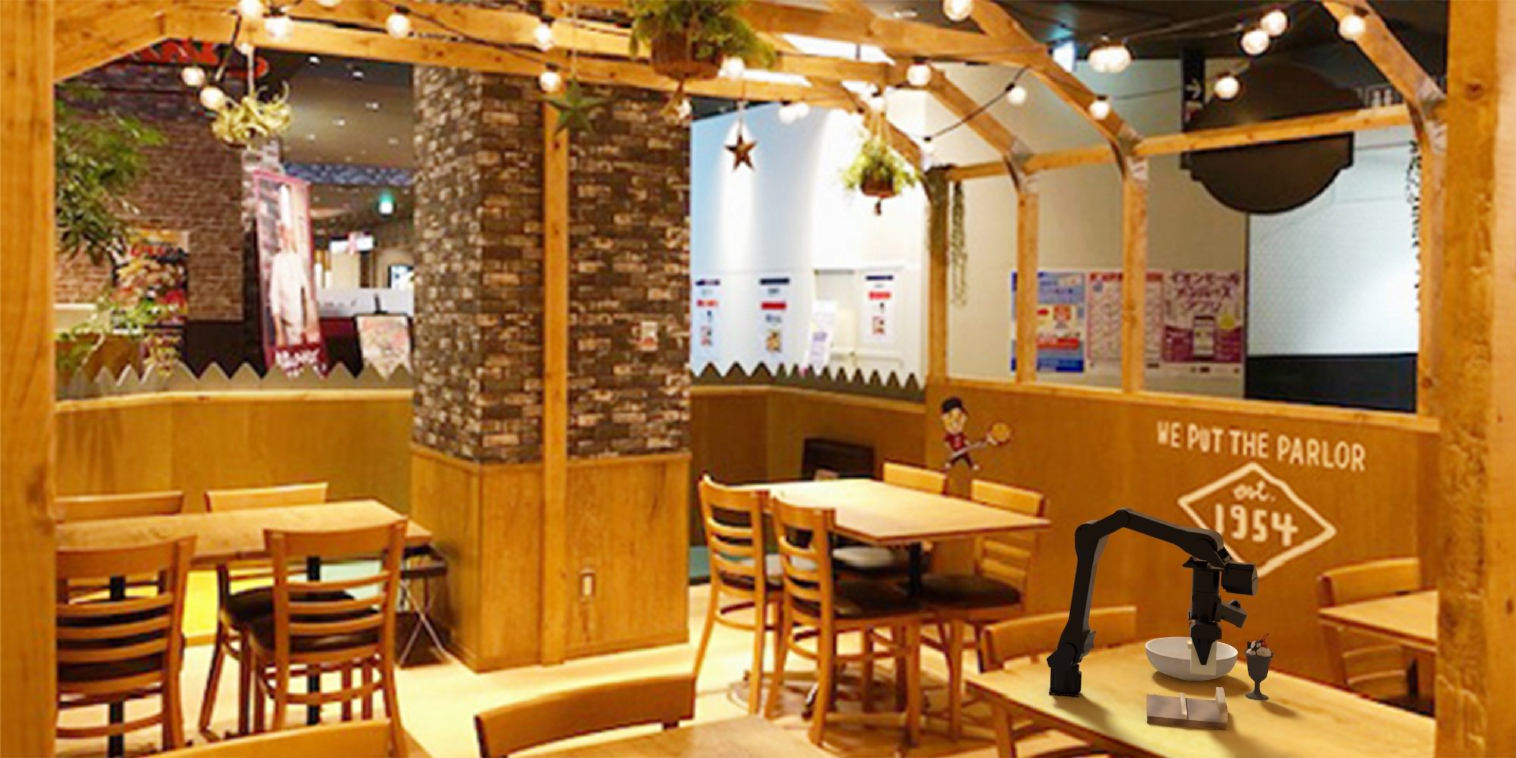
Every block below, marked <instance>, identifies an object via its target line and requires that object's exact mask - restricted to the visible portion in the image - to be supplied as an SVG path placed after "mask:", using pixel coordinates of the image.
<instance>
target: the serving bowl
mask: <svg viewBox="0 0 1516 758" xmlns="http://www.w3.org/2000/svg"><path fill="white" fill-rule="evenodd" d="M1187 640H1188V641H1191V637H1190V636H1189V637H1188V636H1187V637H1186V636H1170V637H1169V636H1168V637H1159V638H1158V637H1157V638H1154V639H1151V640H1149V641H1147V642H1146V643H1145V645H1144V647H1145V654H1146V657H1147V660H1148V662H1149V663H1150V664H1151V666H1153V668H1154V669H1156V670H1157V671H1158V672H1160V673H1162V674H1163V675H1166V676H1169V677H1172V678H1175V679H1178V680H1181V681H1187V680H1188V682H1205V681H1208V680H1214V679H1218V678H1221V677H1224V676H1226V675H1227V674H1229V673H1230V672H1231V671H1232V670H1233V668H1234V667H1235V665H1236V664H1237V661H1238V656H1239V652H1238V650H1237V649H1236V648H1235V647H1234V646H1231V645H1230V644H1227V643H1223V642H1220V641H1217V651H1216V675H1207V674H1195V673H1191V670H1190V657H1191V649H1188V647H1187Z"/></svg>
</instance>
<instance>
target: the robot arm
mask: <svg viewBox="0 0 1516 758" xmlns="http://www.w3.org/2000/svg"><path fill="white" fill-rule="evenodd" d="M1122 528H1125V529H1127V530H1131V531H1133V532H1137V533H1139V534H1143V535H1146V536H1149V537H1152V538H1154V539H1157V540H1160V541H1163V542H1166V543H1170V544H1172V545H1175V546H1176V547H1177V548H1179V549H1180V550H1182V551H1183V552H1184V553H1186V554H1188V555H1189V556H1190V557H1189V558H1188V559H1187V560H1186V561H1185V562H1183V563H1182V565H1181V566H1182V567H1183V568H1185V569H1186V568H1189V569H1192V571H1191V590H1190V599H1191V600H1190V607H1189V608H1188V609H1187V610H1188V611H1187V620H1188V621H1190V622H1188V627H1189V637H1191V639H1192V642H1193V644H1194V647H1195V650H1196V652H1197V655H1198V658H1199V661H1200V664H1201V665H1206V664H1207V661H1208V657H1209V653H1210V650H1211V646H1212V643H1213V642H1215V641H1216V640H1217V641H1218V640H1222V637H1223V635H1222V634H1223V629H1222V626H1221V625H1220V624H1219V623H1221V622H1222V620H1223V622H1224V621H1225V622H1227V623H1228V624H1232V625H1233V626H1235V627H1236V628H1239V629H1242V628H1243V626H1244V624H1245V622H1246V619H1247V618H1248V612H1247V611H1246V610H1245V609H1244V608H1241V602H1240V601H1239V600H1237V599H1235V598H1233V599H1231V600H1230V601H1229V602H1228V601H1226V602H1225V601H1223V600H1222V595H1221V594H1220V593H1221V592H1220V589H1221V588H1222V590H1225V593H1227V594H1235V595H1242V596H1243V595H1244V596H1251V597H1256V595H1257V592H1258V590H1259V579H1260V578H1259V576H1258V575H1259V574H1258V570H1257V563H1255V562H1240V561H1239V562H1238V561H1234V558H1233V557H1232V556H1231V554H1230V552H1229V551H1228V550H1227V548H1226V547H1225V542H1224V538H1223V537H1222V535H1221V534H1220V533H1219V531H1217V530H1214V529H1210V528H1209V529H1208V528H1202V527H1190V526H1182V525H1179V524H1176V523H1173V522H1170V521H1167V520H1164V519H1161V518H1158V517H1154V516H1152V515H1149V514H1146V513H1142V512H1139V511H1136V510H1133V508H1132V507H1122V508H1121V507H1120V508H1119V509H1117V510H1116V511H1114V512H1113V513H1112V514H1109V515H1108V516H1105V517H1104V518H1101V519H1091V520H1089V521H1087V522H1084V523H1082V524H1080V525H1078V526H1077V527H1076V529H1075V531H1074V550H1075V554H1076V559H1077V560H1076V561H1077V562H1076V568H1075V574H1074V580H1073V581H1074V582H1073V587H1072V594H1071V601H1070V607H1069V613H1068V619H1067V621H1066V624H1065V626H1064V628H1063V630H1062V632H1061V634H1060V637H1059V639H1058V643H1057V646H1056V650H1054V651H1053V652H1051V654H1050V655H1048V656H1047V657H1046V663H1047V666H1048V668H1050V669H1049V670H1050V672H1049V675H1050V676H1049V689H1048V695H1057V696H1059V695H1060V696H1068V697H1079V693H1081V692H1082V681H1083V680H1082V678H1083V677H1082V676H1083V671H1080V664H1079V663H1082V662H1083V658H1084V657H1086V656H1088V654H1089V653H1090V652H1091V650H1092V649H1094V648H1095V644H1094V641H1095V637H1096V634H1097V631H1096V630H1093V629H1091V628H1090V624H1089V623H1090V622H1089V621H1090V613H1091V606H1092V603H1093V601H1092V600H1093V596H1094V595H1093V594H1094V588H1095V582H1096V576H1097V575H1096V574H1097V569H1098V563H1099V561H1100V558H1101V556H1102V554H1103V552H1104V550H1105V549H1106V548H1105V547H1106V546H1107V543H1108V541H1109V538H1110V537H1109V536H1110V535H1111V534H1113V533H1115V532H1118V531H1119V530H1121V529H1122Z"/></svg>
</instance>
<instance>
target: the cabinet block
mask: <svg viewBox="0 0 1516 758" xmlns="http://www.w3.org/2000/svg"><path fill="white" fill-rule="evenodd" d="M1217 642H1218V640H1216V641H1215V642H1213V643H1212V646H1211V650H1210V653H1209V657H1208V661H1207V664H1206V665H1201V664H1200V661H1199V658H1198V655H1197V652H1196V650H1195V647H1194V644H1193V642H1192V639H1191V641H1188V640H1187V647H1188V649H1191V657H1190V670H1191V673H1195V674H1207V675H1216V651H1217Z"/></svg>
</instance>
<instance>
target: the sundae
mask: <svg viewBox="0 0 1516 758" xmlns="http://www.w3.org/2000/svg"><path fill="white" fill-rule="evenodd" d="M1268 636H1270V633H1268V632H1266V633H1265V635H1264V636H1263V637H1261V638H1259V639H1258V640H1254V641H1253V642H1251V641H1249V640H1247V641H1246V649H1245V650H1243V651H1242V652H1243V654H1244V655H1245V656H1246V666H1247V672H1248V677H1249V678H1250V679H1251V680H1252V681H1253V682H1254V688H1253V690H1252V692H1247V693H1246V694H1245V695H1244V696H1245V697H1246V698H1248V699H1250V700H1255V701H1266V700H1268V699H1269V696H1268V695H1266V694H1264V693H1262V692H1261V683H1262V682H1263V681H1264V680H1265V679H1267V677H1268V674H1269V671H1270V663H1271V659H1272V658H1274V657H1275V653H1274V652H1271V649H1270V648H1269V647H1268V642H1266V638H1267V637H1268Z"/></svg>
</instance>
